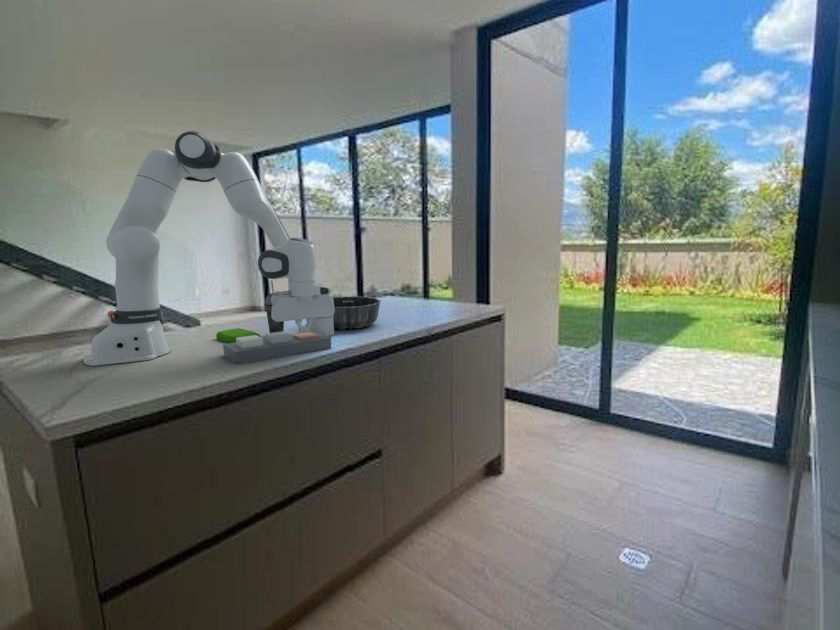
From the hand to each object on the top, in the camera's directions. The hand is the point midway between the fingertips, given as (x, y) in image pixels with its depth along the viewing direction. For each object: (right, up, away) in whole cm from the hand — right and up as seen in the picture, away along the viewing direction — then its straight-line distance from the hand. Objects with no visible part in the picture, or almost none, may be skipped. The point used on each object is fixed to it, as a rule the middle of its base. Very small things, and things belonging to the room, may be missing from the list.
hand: (304, 332), depth 152 cm
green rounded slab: (-22, -4, +10) cm, 25 cm away
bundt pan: (+9, +1, +37) cm, 38 cm away
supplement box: (+1, -2, +19) cm, 20 cm away
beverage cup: (-15, -2, +19) cm, 24 cm away
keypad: (-7, -6, -4) cm, 10 cm away
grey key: (-7, -3, -5) cm, 9 cm away
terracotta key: (0, -4, +1) cm, 4 cm away
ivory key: (-14, -4, -10) cm, 18 cm away
